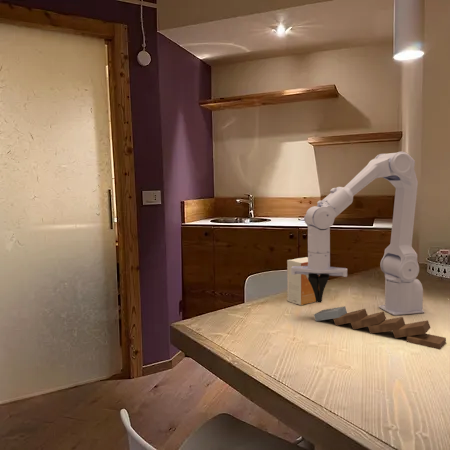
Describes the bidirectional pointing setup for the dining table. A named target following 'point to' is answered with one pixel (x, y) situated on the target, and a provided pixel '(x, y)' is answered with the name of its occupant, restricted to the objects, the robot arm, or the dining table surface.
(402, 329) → the domino
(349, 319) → the domino
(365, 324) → the domino
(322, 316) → the gray rectangular block
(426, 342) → the domino
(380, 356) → the dining table surface
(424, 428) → the dining table surface
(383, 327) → the domino
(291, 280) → the small box
